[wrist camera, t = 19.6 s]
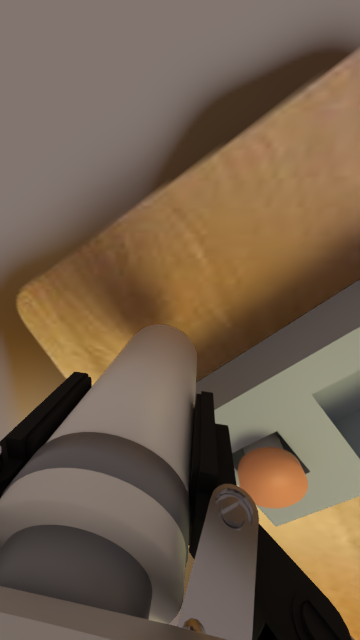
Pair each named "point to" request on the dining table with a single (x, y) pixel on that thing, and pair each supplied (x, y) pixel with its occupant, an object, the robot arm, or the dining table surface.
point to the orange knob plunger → (271, 474)
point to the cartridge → (111, 489)
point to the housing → (300, 400)
